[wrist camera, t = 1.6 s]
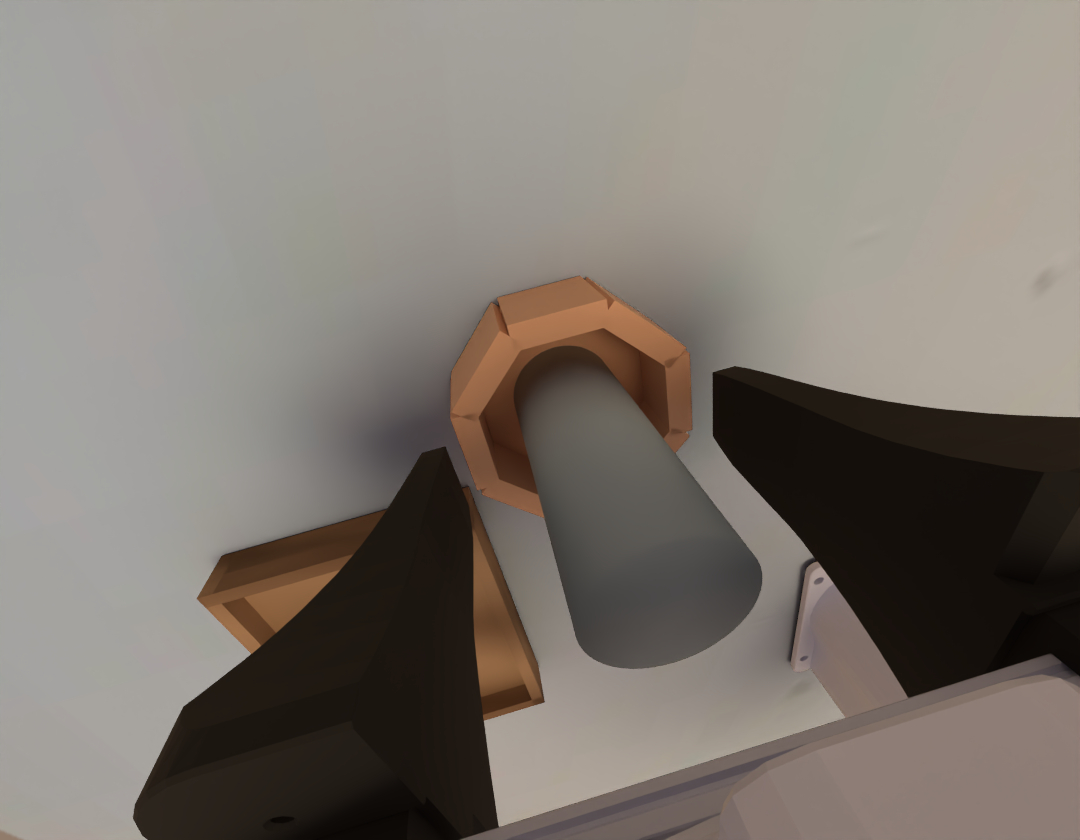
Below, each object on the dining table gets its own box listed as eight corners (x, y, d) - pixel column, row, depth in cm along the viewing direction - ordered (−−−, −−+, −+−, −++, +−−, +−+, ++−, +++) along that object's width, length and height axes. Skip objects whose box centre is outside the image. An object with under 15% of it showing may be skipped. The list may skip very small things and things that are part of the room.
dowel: (617, 421, 15) (757, 637, 8) (526, 446, 15) (590, 687, 8) (604, 333, 13) (768, 512, 6) (502, 361, 13) (557, 573, 6)
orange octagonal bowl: (661, 439, 16) (694, 481, 14) (489, 487, 16) (495, 538, 14) (646, 258, 13) (686, 277, 11) (428, 315, 13) (423, 348, 10)
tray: (538, 665, 22) (544, 702, 21) (363, 717, 22) (356, 759, 20) (468, 486, 16) (470, 520, 14) (221, 555, 16) (196, 598, 14)
